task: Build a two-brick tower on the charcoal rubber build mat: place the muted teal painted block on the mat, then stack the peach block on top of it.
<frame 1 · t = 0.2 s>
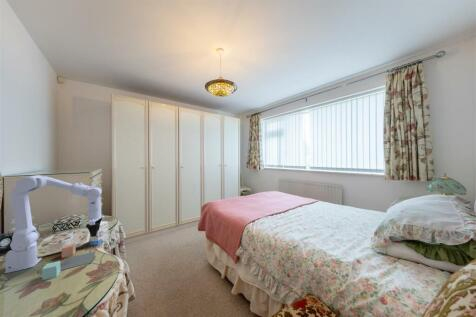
hand: (95, 233, 99), 10 cm above the table, fingers open, 7 cm apart
teal brick: (51, 275, 79), on the table
build mat: (78, 260, 90), on the table
peach block: (68, 254, 96), on the table
ink box: (99, 242, 110), on the table
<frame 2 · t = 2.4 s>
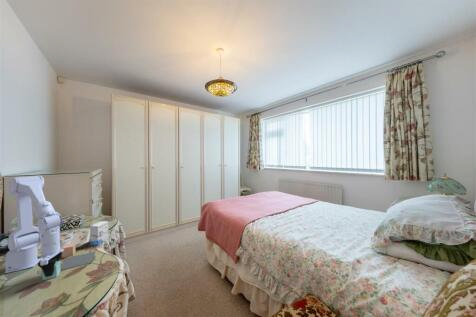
hand: (51, 272, 79), 1 cm above the table, fingers closed on teal brick, 4 cm apart
teal brick: (51, 275, 79), on the table, touching gripper
everything else where it was.
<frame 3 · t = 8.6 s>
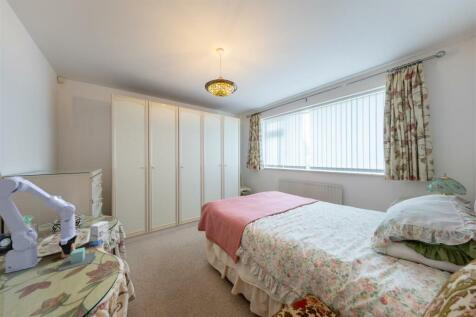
hand: (68, 252, 96), 1 cm above the table, fingers closed on peach block, 4 cm apart
teal brick: (78, 260, 90), resting on build mat
peach block: (68, 254, 96), on the table, touching gripper
everything else where it was.
when the fingers open (7 cm above the table, at t = 11.7 s): peach block stays where it is, resting on teal brick.
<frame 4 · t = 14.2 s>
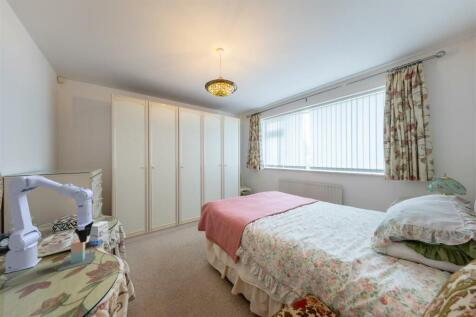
hand: (85, 239, 91), 10 cm above the table, fingers open, 7 cm apart
teal brick: (78, 260, 90), resting on build mat, touching peach block
peach block: (78, 250, 90), point 5 cm above the table, touching teal brick
everything else where it was.
at the end: teal brick inside the target area on the build mat (0.0 cm from its centre), point 0.2 cm above the build mat's base; peach block 0.2 cm off-centre on the teal brick, point 5.0 cm above the teal brick's base; peach block tilted 0° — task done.
